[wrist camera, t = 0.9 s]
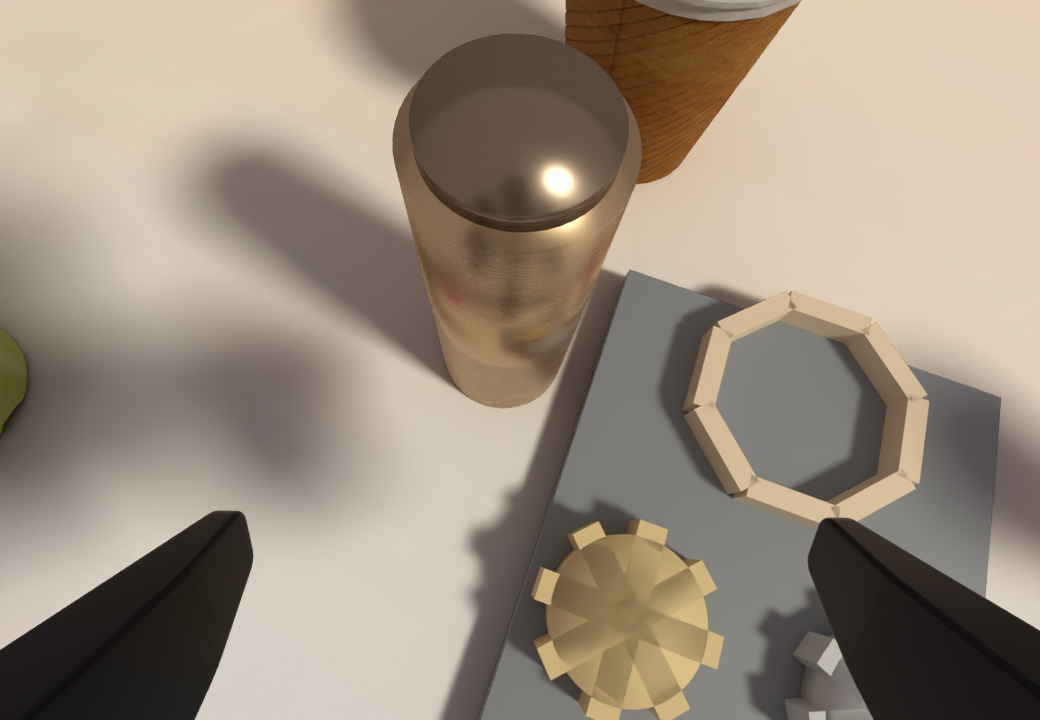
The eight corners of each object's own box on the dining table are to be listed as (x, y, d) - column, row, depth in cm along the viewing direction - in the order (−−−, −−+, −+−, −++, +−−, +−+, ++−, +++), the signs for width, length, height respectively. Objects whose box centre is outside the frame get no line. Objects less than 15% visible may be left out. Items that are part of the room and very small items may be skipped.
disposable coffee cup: (658, 33, 29) (766, -288, 18) (758, 171, 27) (955, -98, 16) (497, 91, 28) (503, -224, 16) (589, 244, 25) (671, 1, 14)
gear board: (915, 1056, 17) (991, 1148, 14) (432, 854, 18) (423, 907, 15) (978, 387, 24) (1036, 369, 21) (628, 266, 25) (644, 235, 22)
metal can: (480, 430, 22) (467, 280, 9) (423, 329, 24) (342, 73, 11) (583, 372, 23) (701, 165, 10) (524, 278, 25) (563, -13, 12)
